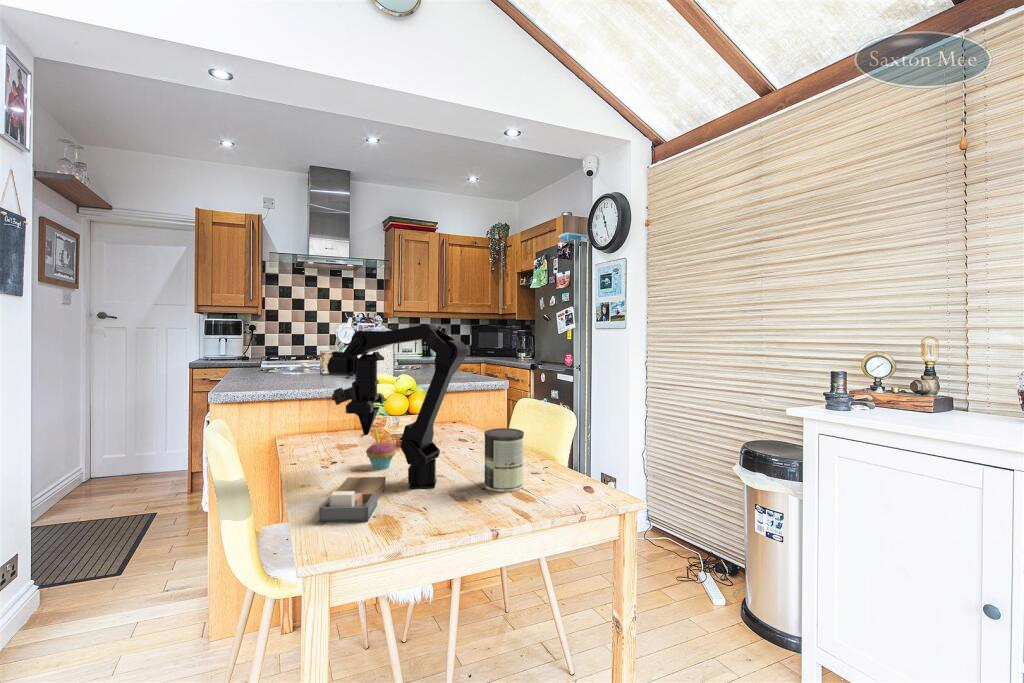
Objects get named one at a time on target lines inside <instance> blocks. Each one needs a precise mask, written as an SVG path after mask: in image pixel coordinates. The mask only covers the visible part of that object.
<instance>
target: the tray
mask: <svg viewBox="0 0 1024 683" xmlns="http://www.w3.org/2000/svg"><path fill="white" fill-rule="evenodd" d="M377 506H378V501H377V492H373V494H372V495H371V497H370V499H369V500H368V502H367V503H362V505H361V506H352V507H330V496H329V497H328V498H327V499H326V500H325V501H324V502H323V503H322V504H321V505H320V507H319V508H318V523H320V524H321V523H322V524H324V523H325V524H326V523H329V524H330V523H359V522H360V523H364V522H369V520H370V518H371V517H372V515H373V513H374V512H375V510H376V508H377Z"/></svg>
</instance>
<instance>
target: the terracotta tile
mask: <svg viewBox="0 0 1024 683" xmlns="http://www.w3.org/2000/svg"><path fill="white" fill-rule="evenodd" d="M361 505H362V493H355V506H361Z"/></svg>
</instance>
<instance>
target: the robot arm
mask: <svg viewBox="0 0 1024 683" xmlns="http://www.w3.org/2000/svg"><path fill="white" fill-rule="evenodd" d="M417 341H424V342H425V343H426V345H427V346H428V348H429V349H430V350H432V352H434V353H435V355H434V356H435V357H434V373H433V376H432V378H431V381H430V383H429V387H428V389H427V391H426V393H425V396H424V399H423V402H422V403H421V407H420V409H419V412H418V414H417V417H416V420H415V421H414V422H412V423H408V424H407V425H405V426H404V428H403V433H402V435H401V437H400V438H399V441H400V449H401V451H402V453H403V454H404V457H405V460H406V463H407V465H408V469H407V476H408V477H407V482H408V484H409V486H408V487H409V489H419V488H420V489H424V488H425V489H434V488H436V484H437V481H438V479H437V477H436V476H437V474H436V473H437V470H436V469H437V459H438V458H439V456H440V453H441V450H440V448H439V447H438V446H437V445H436V444H435V443H434V442H433V441H434V440H433V438H434V434H435V433H434V425H435V422H436V421H435V420H436V418H437V415H438V413H439V410H440V409H441V406H442V402H443V400H444V397H445V395H446V393H447V390H448V387H449V385H450V382H451V379H452V377H453V375H454V374H455V373H456V372H457V371H458V370H459V368H460V367H461V366H462V364H463V362H464V361H465V359H466V357H467V355H468V349H467V347H466V345H465V343H464V342H463V341H461V340H456V339H454V338H453V337H452V336H451V335H449V334H447V333H446V332H444V331H442V330H441V329H440V328H438V327H437V325H435V324H433V323H423V324H420V325H414V326H410V327H404V328H403V327H402V328H398V329H391V330H390V329H389V330H357V331H355V332H353V335H352V336H351V340H350V342H349V343H348V344H347V347H346V348H345V349H344V351H338V350H336V351H332V352H331V353H332V354H331V357H330V358H329V359H328V362H327V364H326V367H327V372H328V374H329V375H330V376H332V377H354V381H353V382H351V387H348V388H345V389H344V388H342V387H338V388H335V389H334V390H333V394H331V396H332V397H331V400H332V401H334V403H335V405H336V406H339V405H341V404H342V403H345V402H347V401H349V402H348V403H347V404H346V405H345V414H355V415H356V416H357V417H358V420H359V423H360V425H361V429H362V432H363V435H364V436H367V435H369V434H370V432H371V429H372V426H373V425H374V422H375V419H376V417H377V415H378V412H379V410H380V409H381V408H380V406H375V404H377V403H378V404H380V405H383V404H385V396H384V395H383V394H382V393H379V392H378V385H379V384H380V383H379V380H380V379H378V361H380V362H381V361H385V356H383V355H381V353H380V352H379V351H378V350H381V349H384V348H386V347H388V346H390V345H397V344H404V343H408V342H409V343H410V342H417ZM370 352H372V353H371V354H370ZM358 356H359V357H358ZM350 400H351V401H350Z"/></svg>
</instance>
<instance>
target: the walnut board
mask: <svg viewBox="0 0 1024 683" xmlns="http://www.w3.org/2000/svg"><path fill="white" fill-rule="evenodd" d="M386 479H387V478H386V476H362V477H361V476H357V477H355V476H354V477H350V476H349V477H347V478H345V480H344V482H343V483H342V484H341V485H339V487H338V488H337V490H336V491H355V493H362V503H367V502H368V500H369V499H370V497H371V495H372V494H373V492H377V502H378V500H379V499H380V497H381V495H382V494H383V492H384V490H385V488H386V481H387V480H386Z"/></svg>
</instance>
